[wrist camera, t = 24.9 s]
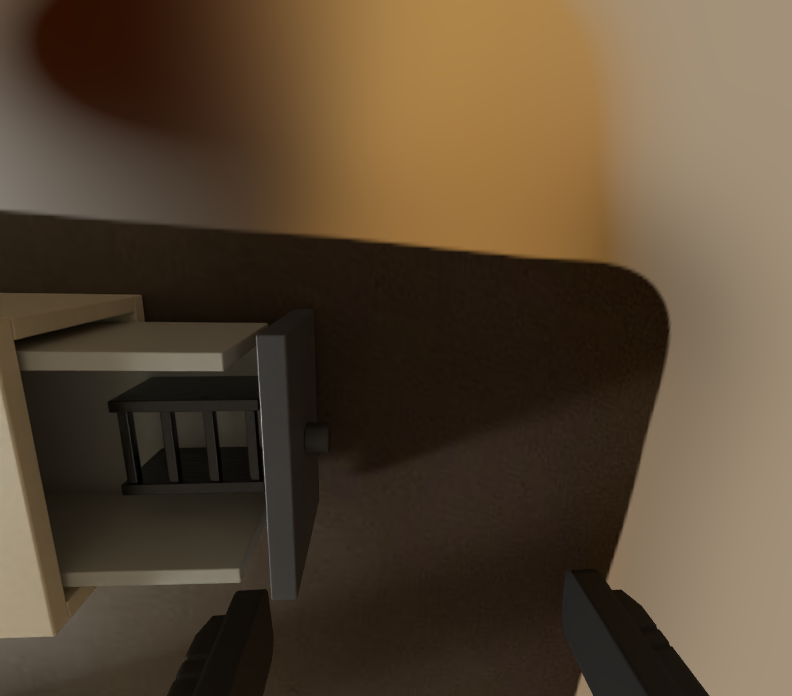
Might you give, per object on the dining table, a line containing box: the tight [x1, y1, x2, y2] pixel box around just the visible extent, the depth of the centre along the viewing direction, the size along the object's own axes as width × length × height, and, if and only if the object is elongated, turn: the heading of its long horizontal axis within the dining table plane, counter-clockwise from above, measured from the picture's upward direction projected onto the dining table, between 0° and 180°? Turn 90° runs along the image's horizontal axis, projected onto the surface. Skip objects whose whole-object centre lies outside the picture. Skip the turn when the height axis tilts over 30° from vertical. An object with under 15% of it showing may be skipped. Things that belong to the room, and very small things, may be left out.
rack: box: [107, 376, 265, 496], centre depth 22 cm, size 5×7×4 cm
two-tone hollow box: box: [14, 309, 331, 600], centre depth 21 cm, size 20×13×8 cm, turn 89°
